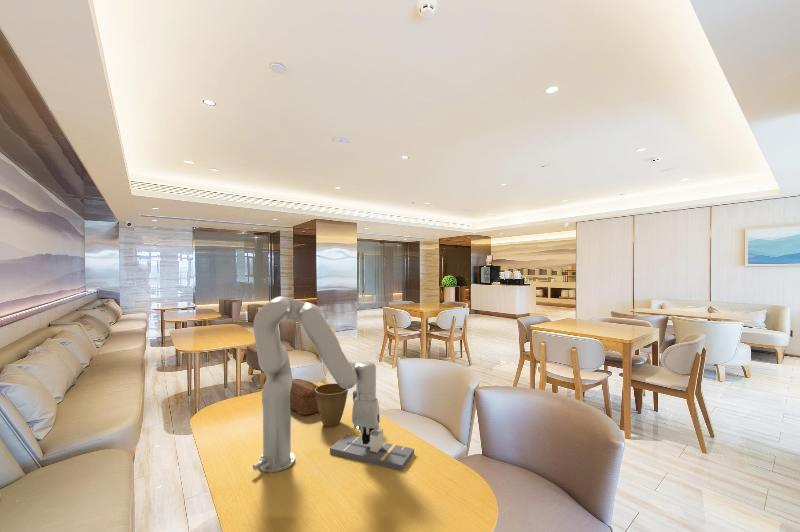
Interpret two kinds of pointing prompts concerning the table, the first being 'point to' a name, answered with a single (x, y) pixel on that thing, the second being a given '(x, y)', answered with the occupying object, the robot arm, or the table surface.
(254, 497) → the table surface
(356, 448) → the console
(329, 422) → the plant pot
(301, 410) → the bread
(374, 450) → the fader tab
